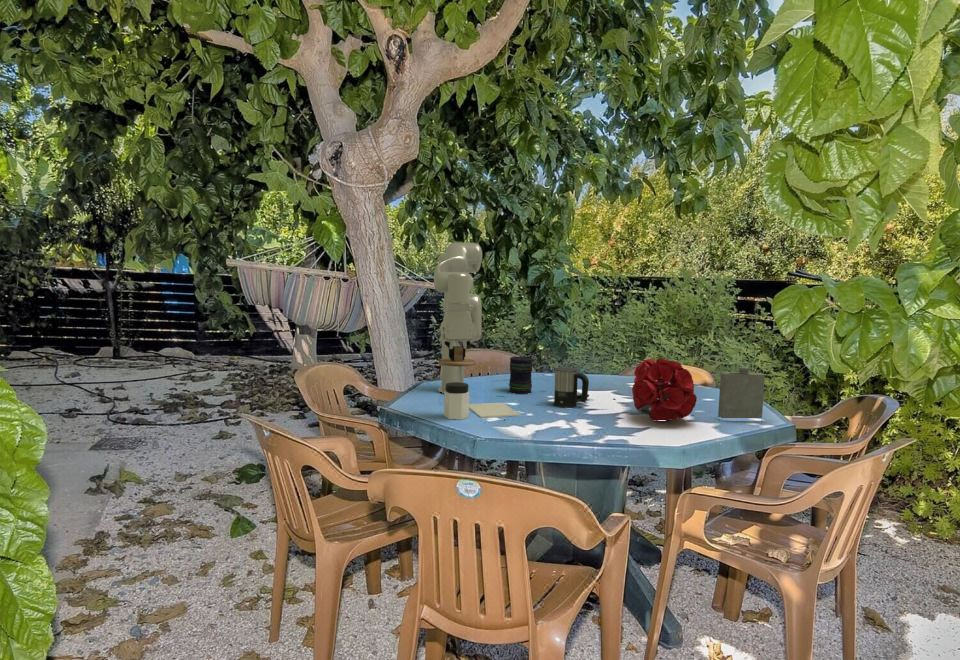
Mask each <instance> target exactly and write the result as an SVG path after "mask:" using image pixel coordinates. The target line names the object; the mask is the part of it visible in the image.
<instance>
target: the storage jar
mask: <svg viewBox="0 0 960 660" xmlns="http://www.w3.org/2000/svg"><path fill="white" fill-rule="evenodd" d="M509 359H510V361H509V371H510V374H509V375H510V377H509V384H508V386H509V391H508V393H510V392H511V393H510V394H513V393H515V394H514V395H529V394H528V393H530V394H532V386H533V385H532V383H533V382H532V381H533V380H532V372H533V357H531V356H530V357H529V356H511V357H509Z"/></svg>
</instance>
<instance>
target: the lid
mask: <svg viewBox="0 0 960 660" xmlns="http://www.w3.org/2000/svg"><path fill="white" fill-rule="evenodd" d="M453 349H454V360H451V359H450V358H447V359H442V358H440V359H438V364H439V365H440V366H442V365H444V366H464V367H471V366H475V365H476V360H474V359H470V358H464V360H463V347H461V346H453Z"/></svg>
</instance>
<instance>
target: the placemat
mask: <svg viewBox="0 0 960 660" xmlns="http://www.w3.org/2000/svg"><path fill="white" fill-rule="evenodd" d="M469 410H471V411H472V412H473V414H475V415H476V416H478V417H479V418H480V419H489V418H490V419H491V418H506V417H507V418H509V417H508V416H512V417H521V414H520V413H519V412H518V411H515V410H514V409H513V408H511V407H509V406H508V405H507V404H505V403H504V402H490V403H489V402H488V403H485V402H484V403H469Z"/></svg>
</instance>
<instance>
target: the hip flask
mask: <svg viewBox="0 0 960 660" xmlns="http://www.w3.org/2000/svg"><path fill="white" fill-rule="evenodd" d="M749 371H750V367H748V366H738V371H729V372H725V371H724V372H720V379H719V381H720V383H719V396H718V397H719V398H718V412H717V413H718V414H717V418H718V417H721V418H762V419H763V407H764V395H765V394H764V393H765V381H766V380H765V379H766V374H765V373H762V372H761V373H760V372H759V373H758V372H757V373H756V372H751V373H749Z"/></svg>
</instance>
